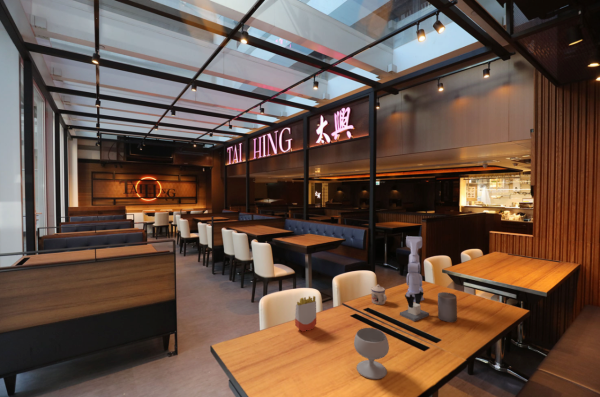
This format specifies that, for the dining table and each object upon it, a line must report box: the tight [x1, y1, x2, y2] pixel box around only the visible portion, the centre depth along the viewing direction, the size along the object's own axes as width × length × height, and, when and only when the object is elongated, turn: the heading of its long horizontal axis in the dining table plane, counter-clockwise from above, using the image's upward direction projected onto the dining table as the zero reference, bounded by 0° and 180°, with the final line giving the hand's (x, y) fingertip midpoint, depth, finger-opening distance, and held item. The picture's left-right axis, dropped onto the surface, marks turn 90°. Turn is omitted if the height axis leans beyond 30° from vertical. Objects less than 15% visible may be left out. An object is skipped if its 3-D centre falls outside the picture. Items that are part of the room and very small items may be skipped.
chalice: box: [353, 327, 390, 380], centre depth 114 cm, size 14×14×15 cm
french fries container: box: [294, 295, 317, 332], centre depth 149 cm, size 5×11×18 cm, turn 118°
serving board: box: [399, 309, 430, 322], centre depth 164 cm, size 14×10×2 cm
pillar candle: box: [437, 291, 458, 323], centre depth 159 cm, size 10×10×15 cm
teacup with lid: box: [370, 284, 388, 306], centre depth 183 cm, size 12×9×12 cm
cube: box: [407, 302, 422, 315], centre depth 164 cm, size 5×5×5 cm
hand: (414, 305), depth 164 cm, fingers open, 7 cm apart
